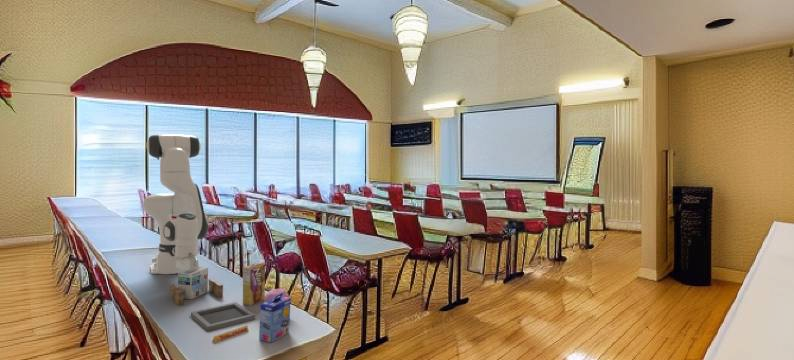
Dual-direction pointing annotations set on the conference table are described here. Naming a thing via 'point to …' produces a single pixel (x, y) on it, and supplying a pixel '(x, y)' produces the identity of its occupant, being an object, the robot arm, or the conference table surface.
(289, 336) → the conference table surface
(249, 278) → the candy box
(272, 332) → the ink cartridge box
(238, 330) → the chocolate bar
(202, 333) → the conference table surface
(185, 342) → the conference table surface
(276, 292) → the cupcake
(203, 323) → the grey shallow rectangular tray
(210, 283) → the wooden blocks
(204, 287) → the light bulb box
